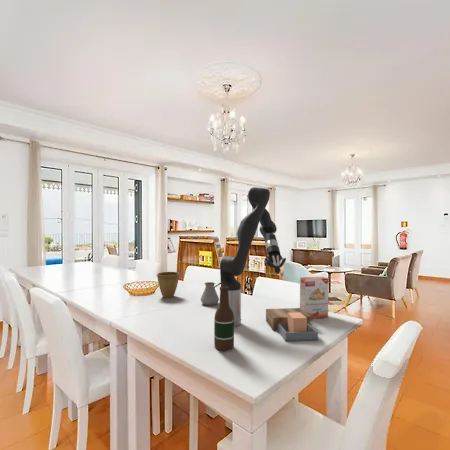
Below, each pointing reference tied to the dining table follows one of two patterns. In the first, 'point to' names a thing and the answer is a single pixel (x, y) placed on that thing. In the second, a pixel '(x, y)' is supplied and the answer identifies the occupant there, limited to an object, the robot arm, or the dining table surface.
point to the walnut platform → (282, 316)
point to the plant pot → (168, 283)
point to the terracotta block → (297, 322)
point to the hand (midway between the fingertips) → (278, 272)
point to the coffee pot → (210, 294)
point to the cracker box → (314, 296)
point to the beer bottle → (224, 323)
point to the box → (297, 333)
